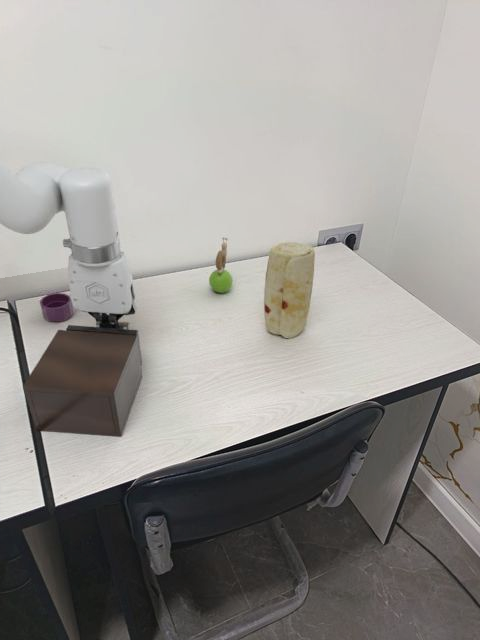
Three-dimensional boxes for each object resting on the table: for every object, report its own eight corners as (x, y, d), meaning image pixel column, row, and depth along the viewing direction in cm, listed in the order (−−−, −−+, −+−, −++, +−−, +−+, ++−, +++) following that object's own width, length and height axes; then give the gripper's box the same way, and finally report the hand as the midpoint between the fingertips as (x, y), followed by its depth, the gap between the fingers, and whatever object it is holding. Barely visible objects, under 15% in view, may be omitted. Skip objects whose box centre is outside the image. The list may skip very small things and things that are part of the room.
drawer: (85, 340, 97) (79, 307, 92) (148, 345, 97) (145, 312, 92) (48, 410, 82) (38, 374, 77) (123, 415, 82) (117, 380, 77)
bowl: (39, 322, 102) (35, 307, 100) (49, 306, 107) (46, 292, 105) (67, 324, 102) (64, 309, 100) (77, 308, 107) (74, 294, 105)
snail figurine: (235, 284, 119) (236, 238, 112) (229, 298, 114) (230, 251, 107) (213, 281, 120) (213, 235, 112) (206, 295, 115) (206, 247, 107)
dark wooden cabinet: (68, 371, 91) (58, 329, 85) (142, 377, 91) (137, 335, 85) (36, 430, 79) (22, 386, 74) (121, 436, 80) (113, 393, 74)
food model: (302, 321, 109) (313, 236, 96) (310, 339, 104) (323, 252, 91) (258, 324, 107) (264, 238, 94) (265, 342, 102) (272, 254, 89)
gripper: (42, 255, 78) (64, 346, 90) (136, 262, 78) (146, 352, 90) (59, 234, 84) (78, 323, 95) (147, 241, 84) (155, 328, 95)
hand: (111, 337), depth 92 cm, fingers closed
